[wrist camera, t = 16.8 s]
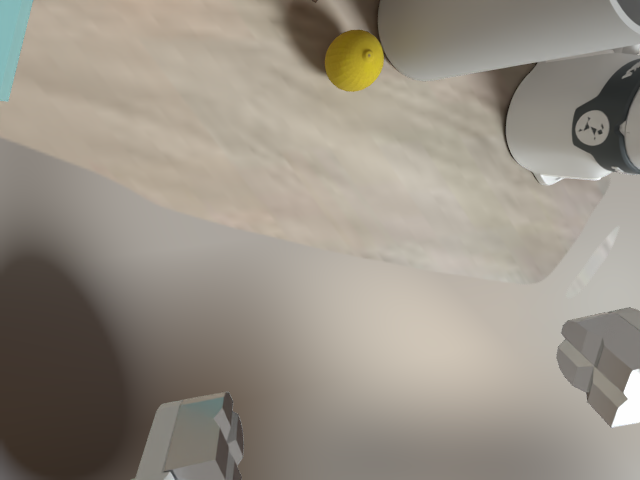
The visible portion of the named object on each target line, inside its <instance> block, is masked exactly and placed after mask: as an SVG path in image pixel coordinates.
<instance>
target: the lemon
mask: <svg viewBox="0 0 640 480" xmlns="http://www.w3.org/2000/svg"><path fill="white" fill-rule="evenodd" d="M383 61H384V55H383V50H382V46H381V44H380V43H379V41H378V40H377V38H376V37H375V36H374V35H372V34H370V33H369V32H367V31H363V30H350V31H347V32H344V33H342V34H341V35H339V36H338V37H336V38H335V39H334V41H333V42H332V43H331V44H330V46H329V48H328V50H327V52H326V57H325V69H326V73H327V75H328V77H329V80H330V81H331V82H332V83H333V84H334V85H335V86H336V87H338V88H339V89H342V90H345V91H353V92H354V91H359V90H362V89H364V88H366V87H368V86H370V85H371V84H372V83H373V82H374V81H375V80H376V79H377V77H378V76H379V74H380V72H381V70H382V67H383Z"/></svg>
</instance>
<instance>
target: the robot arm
mask: <svg viewBox="0 0 640 480" xmlns="http://www.w3.org/2000/svg"><path fill="white" fill-rule="evenodd" d="M639 49H640V44H637V45H631V46H626V47H620V48H614V49H609V50H603V51H597V52H592V53H586V54H580V55H575V56H569V57H563V58H558V59H552V60H546V61H541V62H538V63H537V65H536V66H535V67H534V69H533V70H532V71H531V72H530V73H529V74H528V75H527V76H526V77H525V78H524V80H523V81H522V82H521V84H520V85H519V87H518V88H517V90H516V92H515V94H514V96H513V98H512V101H511V103H510V106H509V110H508V114H507V120H506V137H507V143H508V146H509V149H510V152H511V154H512V156H513V157H514V159H515V160H516V161H517V162H518V163H519V164H520V165H521V166H523V167H524V168H526V169H528V170H530V171H531V172H533V173H534V175H535V177H536V178H537V180H538V181H539V183H540V184H542V185H552V184H554V183H556V182H558V181H560V180H562V179H564V178H573V179H584V180H599V179H601V177H604V176H606V175H608V174H610V173H611V172H619V173H622V174H630V175H638V174H640V55H637V54H638V53H639ZM561 333H562V335H563V336H564V337H565V340H564V341H563V342H562V343H561V344H560V345H559V346H558V351H557V361H558V365H559V368H560V370H561V372H562V373H563V375H564V377H565V378H566V379H567V380H568V381H569V382H570V383H571V384H572V386H574V387H576V388H578V389H580V390H582V391H584V392H586V394H587V402H588V403H589V404H590V405H591V407H592V408H593V409H594V410H595V411H596V412H597V413H598V414H599V415H600V416H601V417H602V418H603V419H604V421H605V422H606V423H607V424H608V425H609V426H610V427H611V428H612V427H617V426H622V425H627V424H633V423H638V422H640V311H638V310H636V309H633V308H630V307H629V308H624V309H619V310H615V311H610V312H607V313H605V312H604V313H600V314H595V315H591V316H587V317H582V318H577V319H572V320H568V321H567V322H566V323H565V324H564V325H563V328H562V332H561ZM232 409H233V400H232V398H231V396H230V393H229V392H223V393H218V394H212V395H207V396H201V397H196V398H191V399H185V400H181V401H176V402H170V403H165V404H161V406H160V407H159V408H158V410H157V412H156V415H155V418H154V421H153V424H152V427H151V430H150V434H149V437H148V440H147V443H146V447H145V449H144V453H143V456H142V459H141V462H140V466H139V468H138V472H137V475H136V478H135V479H131V480H242V476H241V474H240V472H239V470H238V467H237V465H238V464H239V463H240V461H241V459H242V458H243V449H244V441H243V429H242V425H241V421H240V418H239V415H238V414H237V413H235V412H233V411H232Z"/></svg>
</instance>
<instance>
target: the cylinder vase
mask: <svg viewBox="0 0 640 480" xmlns="http://www.w3.org/2000/svg"><path fill="white" fill-rule="evenodd" d="M378 31H379V37H380V41H381V44H382V47H383V50H384V52H385V54H386V56H387V58H388V59H389V61H390V62H391V63H392V65H393V66H394V67H395V68H396V69H397V70H398V71H399V72H401V73H402V74H404V75H405V76H407V77H409V78H411V79H414V80H419V81H433V80H439V79H444V78H450V77H456V76H461V75H467V74H473V73H478V72H484V71H490V70H495V69H501V68H507V67H512V66H518V65H524V64H529V63H535V62H541V61H546V60H552V59H558V58H563V57H569V56H575V55H580V54H586V53H592V52H597V51H603V50H609V49H614V48H620V47H626V46H631V45H637V44H640V0H380V4H379V10H378Z"/></svg>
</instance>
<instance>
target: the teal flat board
mask: <svg viewBox="0 0 640 480" xmlns="http://www.w3.org/2000/svg"><path fill="white" fill-rule="evenodd" d="M32 3H33V0H0V101H8V100H9V96H10V92H11V88H12V84H13V80H14V76H15V72H16V68H17V64H18V60H19V56H20V51H21V47H22V43H23V39H24V35H25V31H26V27H27V23H28V19H29V15H30V11H31V7H32Z"/></svg>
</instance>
